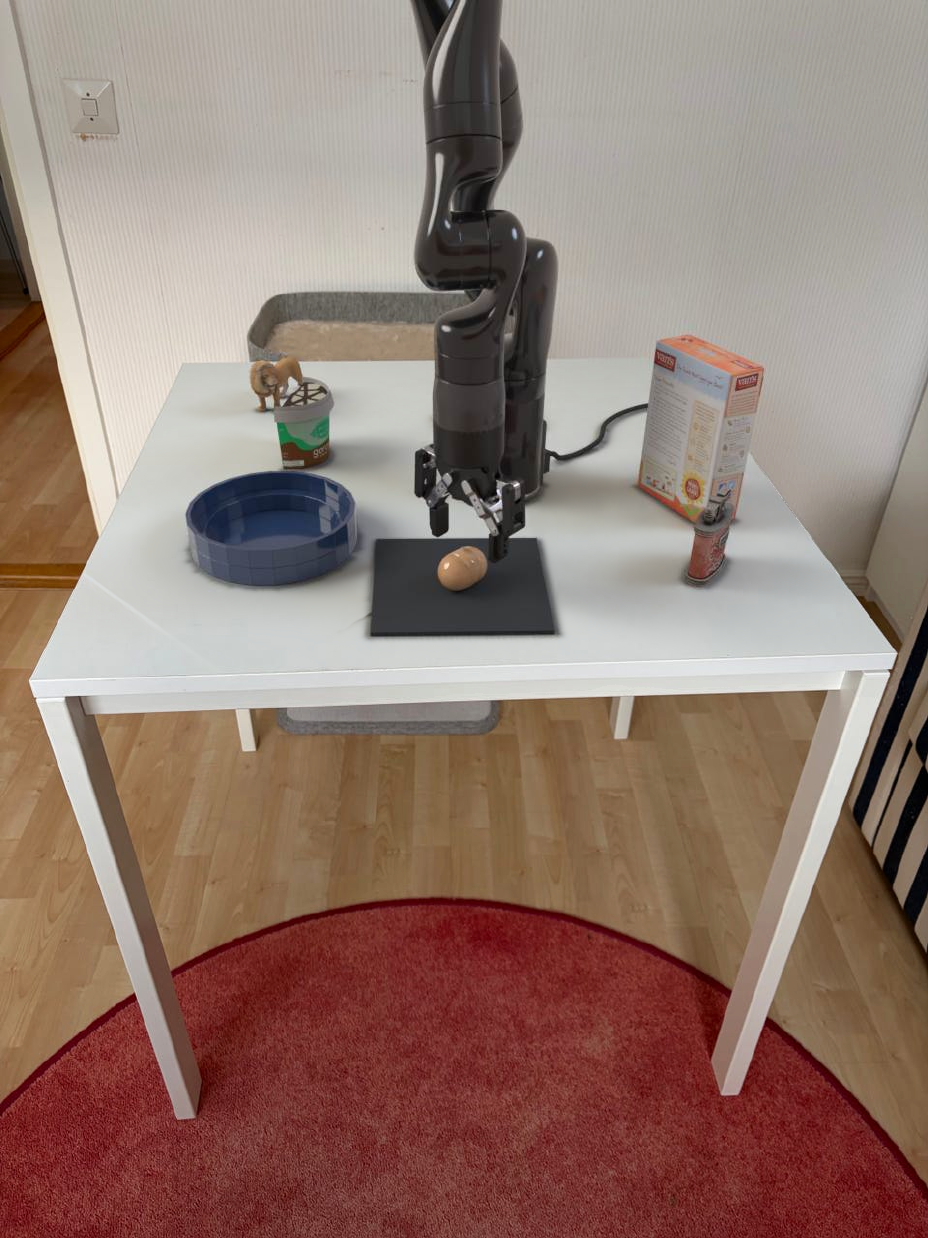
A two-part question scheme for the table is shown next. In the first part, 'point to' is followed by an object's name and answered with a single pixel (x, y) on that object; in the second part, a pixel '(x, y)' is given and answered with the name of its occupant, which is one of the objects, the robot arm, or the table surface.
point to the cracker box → (698, 423)
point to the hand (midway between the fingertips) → (467, 546)
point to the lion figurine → (274, 379)
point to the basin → (272, 527)
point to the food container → (305, 425)
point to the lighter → (710, 539)
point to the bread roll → (462, 568)
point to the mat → (486, 608)
